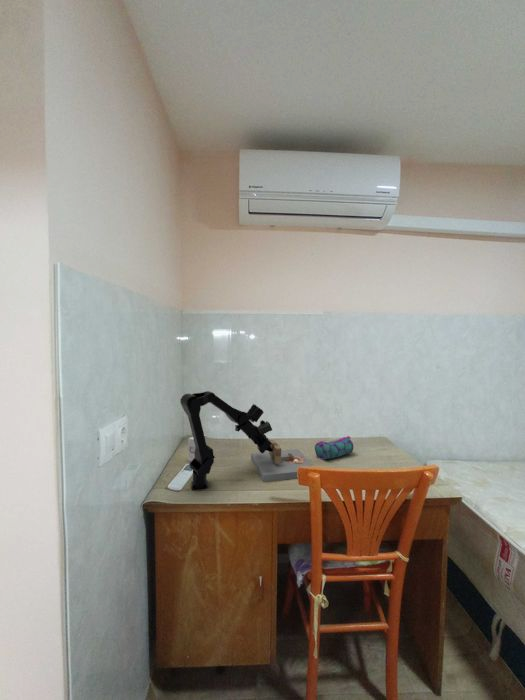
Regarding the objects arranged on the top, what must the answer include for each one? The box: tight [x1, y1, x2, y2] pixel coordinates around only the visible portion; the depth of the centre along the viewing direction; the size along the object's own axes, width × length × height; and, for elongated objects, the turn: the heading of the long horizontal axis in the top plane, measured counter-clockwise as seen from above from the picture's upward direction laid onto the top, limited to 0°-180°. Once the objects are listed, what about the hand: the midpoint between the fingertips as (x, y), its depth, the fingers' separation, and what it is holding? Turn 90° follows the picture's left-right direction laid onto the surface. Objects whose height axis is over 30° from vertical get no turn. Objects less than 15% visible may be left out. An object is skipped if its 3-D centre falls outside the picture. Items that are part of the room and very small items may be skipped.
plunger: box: [268, 439, 294, 464], centre depth 135 cm, size 11×10×8 cm
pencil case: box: [314, 435, 354, 461], centre depth 149 cm, size 21×9×10 cm, turn 119°
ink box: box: [187, 434, 208, 463], centre depth 141 cm, size 9×5×12 cm, turn 149°
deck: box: [250, 448, 315, 483], centre depth 135 cm, size 24×26×3 cm
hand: (271, 450), depth 133 cm, fingers closed, pressing on plunger
